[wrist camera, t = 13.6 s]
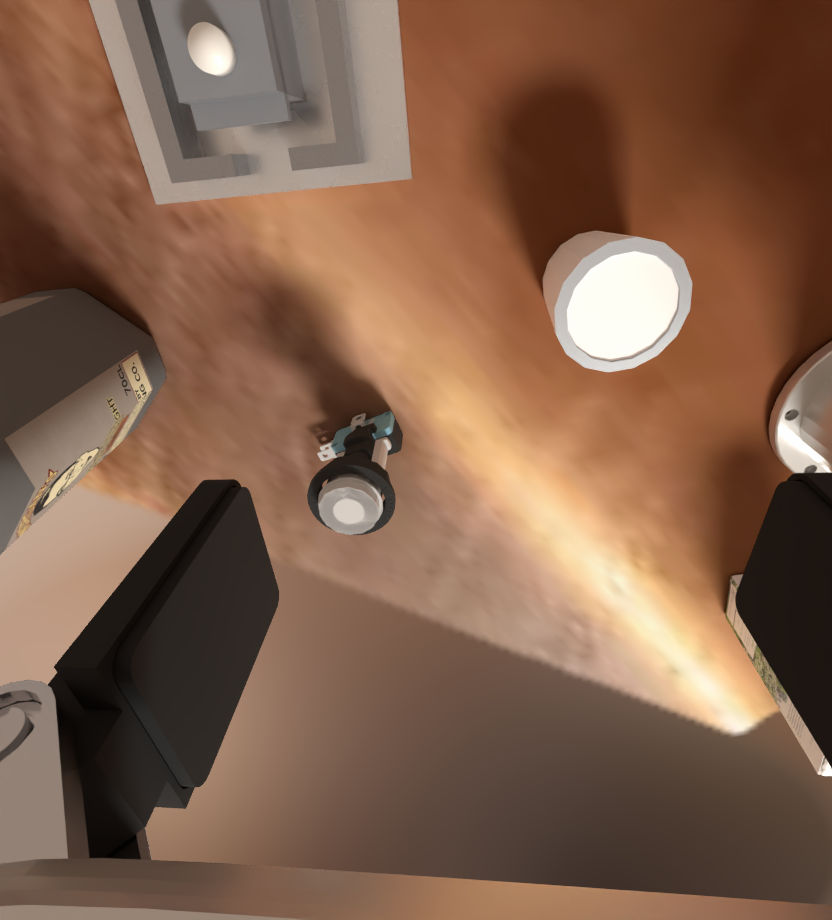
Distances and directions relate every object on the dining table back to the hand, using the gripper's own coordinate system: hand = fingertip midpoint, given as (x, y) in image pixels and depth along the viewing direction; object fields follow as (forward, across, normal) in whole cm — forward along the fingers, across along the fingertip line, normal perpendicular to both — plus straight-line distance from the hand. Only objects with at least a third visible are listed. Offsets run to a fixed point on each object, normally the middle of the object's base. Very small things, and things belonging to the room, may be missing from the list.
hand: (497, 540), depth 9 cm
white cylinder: (+26, -7, +1) cm, 27 cm away
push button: (+26, +8, +11) cm, 29 cm away
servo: (+24, +11, -13) cm, 29 cm away
